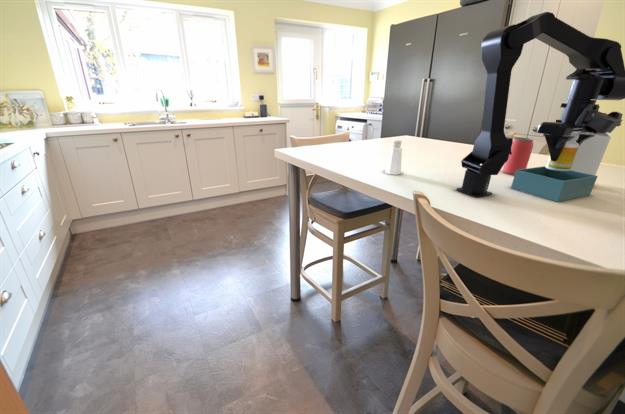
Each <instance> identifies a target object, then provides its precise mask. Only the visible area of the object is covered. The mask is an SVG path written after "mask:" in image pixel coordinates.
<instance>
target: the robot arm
mask: <svg viewBox="0 0 625 414" xmlns="http://www.w3.org/2000/svg"><path fill="white" fill-rule="evenodd" d="M534 39H536V40H538V41H540V42H541V43H543V44H545V45H547V46H549V47H551V48H552V49H554V50H556V51H558V52H560V53H561V54H563V55H565V56H566V57H568V62H569V64H571V66H572V67H574V69H575V70H574V71H573V72H572V73H569V75H567V76H565V80H569V81H572V83H571V86H570V89H569V92H568V95H567V97H566V101H565V102H562V103H561V104H560V108H563V109H562V113H561V116H560V117H559V118H560V119H556V120H555V121H543V122H541V123H540V124H538V126H537V129H536V133H537V134H542V136H543V137H544V138H545V142H546V145H547V149H548V153H549V154H550V158H551V161H557V159H558V158H559V156H560V154H561V152H562V150H563V148H564V146H565V144H566V142H568V141H569V140H571V139H573V138H574V136H570V134H571V133H575V134H579V138H578V140H576V142H577V143H578V144H579V146H580V145H581V143H582V142H583V141H585V140H587V139H589V138H591V137H594V136H595V135H589V132H593V133H594V134H602V133H606V132H608V134H611V133H612V132H613V131H614V130H615V129H616V127H620V126H622V122H623V119H622V118H623V113H622V112H619V111H611V112H609V113H606V112H602V111H599V110H600V107H601V106H600V104H597V101H623V100H625V62H624V61H625V60H624V57H623V52H622V45H621V43H620V42H618V41H616V40H613V39H609V38H601V37H593V36H590V35H587V34H586V33H584V32H582V31H581V30H579V29H577V28H575V27H574V26H572V25H571V24H568V23H566V22H565V21H564V20H561V19H559V18H557V17H556V16H555V13H553V12H550V11H544V12H541V13H537V14H535V15H531V16H530V17H528V18H526V19H525V20H522V21H520V22H518V23H516V24H511V25H507V26H504V27H501V28H497V29H494V30H493V29H492V30H491V31H489V32H488V33H487V34H485V36H484V37H483V39H482V41H481V45H480V46H481V47H480V48H481V49H480V50H481V61H482V64H483V66H484V69H485V71H486V82H485V92H484V101H483V102H484V103H483V104H484V105H483V113H482V123H481V130H480V133H479V135H478V137H477V138H476V139H475V141H474V143H473V148H472V151H470V152H469V153H468V154H467V155H466V156H465V157H463V158H462V159H460V161H461V162H460V163H461V168H463V169H466V170H465V171H464V176H463V181H462V185H461V187H457V188H456V189H455V190H456V191H457V192H460V193H463V194H466V195H468V196H471V197H474V198H478V197H484V196H492V194H493V192H491V191H488V190H489V186H490V184H491V183H490V182H491V178H492V176H498V175H499V173H500V172H501V171H502V169H503V166H504V164H505V162H507V161H508V158H509V154H510V155H511V154H512V152H511V147H512V143H513V137H507V136H506V133H505V126H506V117H507V110H508V103H509V102H508V101H509V95H510V87H511V86H510V85H511V79H512V71H513V68H514V67H515V65H516V63H517V62H518V60H519V59H520V57H521V55H522V52H523V48H524V45H525V44H527V43H529V42H532V41H534Z"/></svg>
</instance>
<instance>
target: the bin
mask: <svg viewBox="0 0 625 414" xmlns="http://www.w3.org/2000/svg"><path fill="white" fill-rule="evenodd" d="M545 166H546V165H543V166H536V167H529V168H528V167H527V168H526V169H520V170H516V172H515V175H513V179H512V182H511V185H510V189H513V190H516V191H519V192H523V193H526V194H529V195H533V196H536V197H540V198H543V199H545V200H549V201H553V202H557V203H559V202H563V201H569V200H572V199H573V200H574V199H578V198H583V197H588V196H591V193H592V192H593V191H592V190H593V188H594V187H595V184H596V181H597V178H598V175H590V174H586V173H581V172H576V171H571V170H569V171H555V170H550V169H547V168H546V167H545Z"/></svg>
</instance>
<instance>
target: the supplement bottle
mask: <svg viewBox="0 0 625 414" xmlns="http://www.w3.org/2000/svg"><path fill="white" fill-rule="evenodd" d="M570 136H574V138H573V139H571V140H569V141H568V142H566V144H565V146H564V148H563V150H562V152H561V154H560V156H559V158H558V159H557V161H551V158H550V153H549V154H548V157H547V160H546V163H545V165H544V166H545V167H546V168H547V169H550V170H555V171H569V170H570V169H571V166H572V163H573V160H574V158H575V155H576V152H577V150H578V147H579V144H578V143H577V142H576V140H578V138H579V134H575V133H571V134H570Z"/></svg>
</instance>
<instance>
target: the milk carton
mask: <svg viewBox="0 0 625 414" xmlns="http://www.w3.org/2000/svg"><path fill="white" fill-rule="evenodd" d="M589 135H595V136H594V137H591V138H589V139H587V140H585V141H583V142H582V143H581V145H580V146H579V147H578V150H577V152H576V155H575V158H574V160H573V163H572V166H571V169H570V170H571V171H576V172H581V173H586V174H590V175H595V176H597V172H598V170H599V168H600V165H601V162H602V160H603V158H604V155H605V152H606V151H607V148H608V146H609V143H610V141H611V139H612V136H611V135H610V133H608V132H606V133H602V134H594V133H593V132H589Z"/></svg>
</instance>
